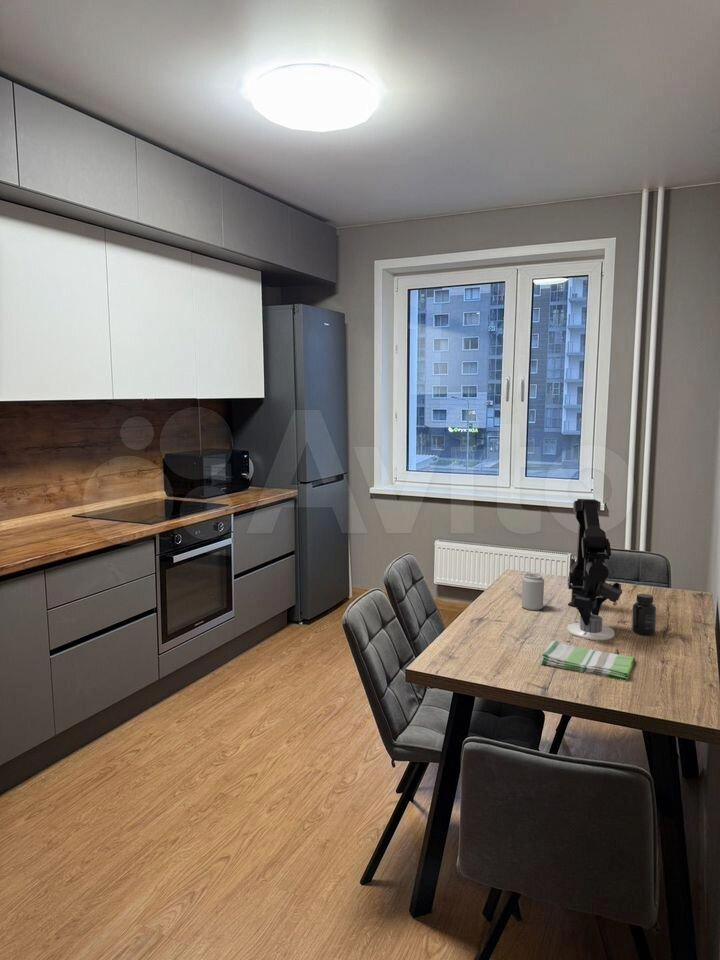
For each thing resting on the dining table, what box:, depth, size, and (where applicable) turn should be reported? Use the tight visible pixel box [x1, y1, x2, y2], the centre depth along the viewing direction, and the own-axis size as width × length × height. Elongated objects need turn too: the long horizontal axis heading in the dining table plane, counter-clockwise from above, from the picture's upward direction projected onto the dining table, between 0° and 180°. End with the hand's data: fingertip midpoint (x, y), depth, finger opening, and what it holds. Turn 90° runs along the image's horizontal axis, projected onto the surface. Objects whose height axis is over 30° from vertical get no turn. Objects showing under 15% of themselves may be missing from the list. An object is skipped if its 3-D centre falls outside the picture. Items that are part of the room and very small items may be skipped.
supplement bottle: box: [631, 593, 657, 636], centre depth 206 cm, size 7×7×12 cm
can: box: [521, 572, 545, 611], centre depth 231 cm, size 8×8×12 cm
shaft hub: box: [567, 621, 615, 641], centre depth 206 cm, size 14×14×4 cm
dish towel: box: [539, 639, 636, 682], centre depth 182 cm, size 17×23×4 cm
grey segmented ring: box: [579, 613, 603, 633], centre depth 206 cm, size 6×6×4 cm
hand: (590, 622), depth 206 cm, fingers open, 8 cm apart
